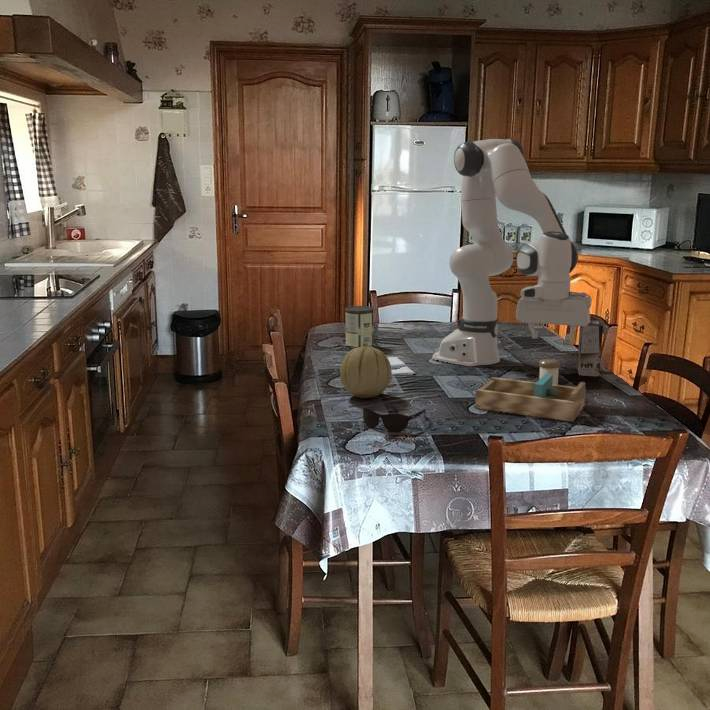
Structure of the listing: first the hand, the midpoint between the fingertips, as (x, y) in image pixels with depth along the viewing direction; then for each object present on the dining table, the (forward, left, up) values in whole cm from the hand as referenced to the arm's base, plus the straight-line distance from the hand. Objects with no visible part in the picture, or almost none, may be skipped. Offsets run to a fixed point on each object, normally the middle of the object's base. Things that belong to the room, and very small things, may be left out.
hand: (551, 339), depth 222 cm
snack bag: (-55, +3, -17) cm, 58 cm away
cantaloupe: (-45, -27, -16) cm, 55 cm away
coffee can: (-75, +29, -16) cm, 82 cm away
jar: (0, 0, -16) cm, 16 cm away
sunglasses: (-29, -43, -16) cm, 54 cm away
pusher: (+4, -16, -14) cm, 22 cm away
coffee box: (+6, +28, -16) cm, 33 cm away
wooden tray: (-1, -16, -16) cm, 22 cm away
